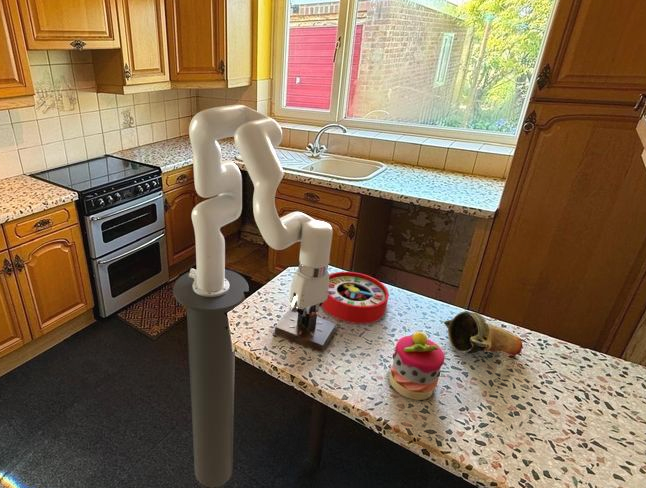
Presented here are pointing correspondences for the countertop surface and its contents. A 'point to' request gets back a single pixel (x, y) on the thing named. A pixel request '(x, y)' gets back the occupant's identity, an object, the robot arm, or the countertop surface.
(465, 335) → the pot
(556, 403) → the countertop surface
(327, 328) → the panel
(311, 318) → the dial
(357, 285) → the toy clock
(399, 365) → the cake
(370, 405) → the countertop surface
